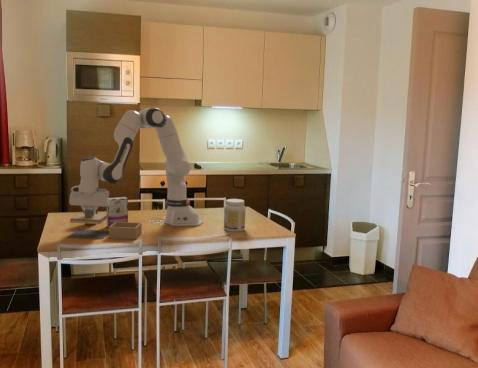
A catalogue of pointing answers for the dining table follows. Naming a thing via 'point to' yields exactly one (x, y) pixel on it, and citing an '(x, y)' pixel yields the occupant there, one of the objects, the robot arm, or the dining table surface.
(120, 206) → the candy bar box
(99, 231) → the mat
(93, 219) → the lid
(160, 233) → the dining table surface
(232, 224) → the supplement tub
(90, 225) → the disposable coffee cup
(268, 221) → the dining table surface
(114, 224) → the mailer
